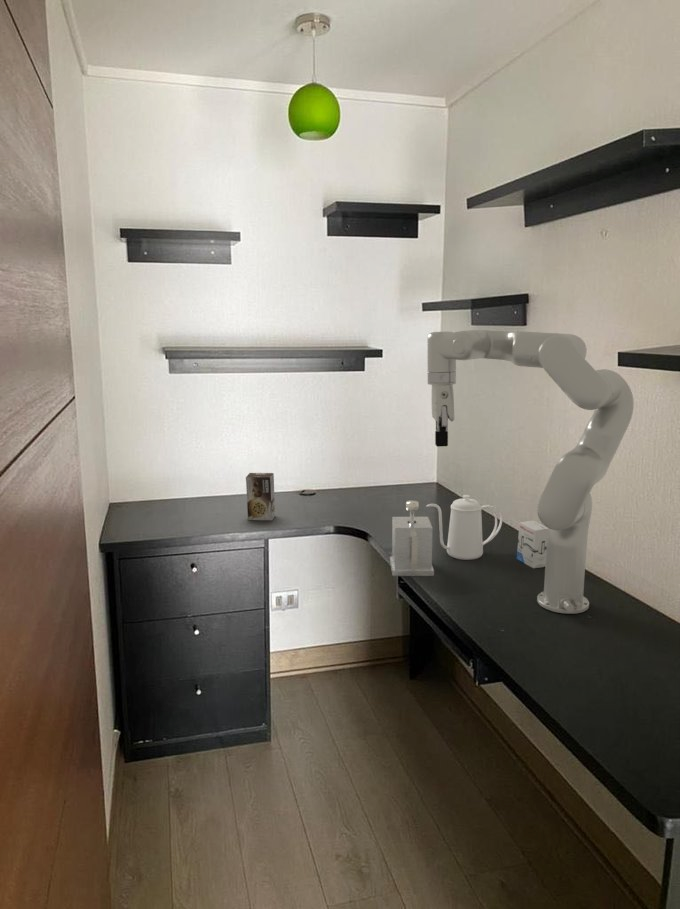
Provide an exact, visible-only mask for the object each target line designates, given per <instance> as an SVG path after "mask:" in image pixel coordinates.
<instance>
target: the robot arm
mask: <svg viewBox="0 0 680 909" xmlns="http://www.w3.org/2000/svg"><path fill="white" fill-rule="evenodd" d="M586 356H587V345H586V342H585V341H584V340H583V339H582V337H580V336H578V335H575V334H571V333H557V332H556V333H555V332H540V331H523V330H522V331H519V330H517V331H507V330H506V331H504V330H489V329H488V330H487V329H485V330H484V329H472V330H461V331H459V330H458V331H455V332H453V331H433V332H430V333H429V334H428V335H427V385H429V386H431V416H432V418H433V419H434V421H435V432H434V433H435V434H434V436H435V439H434V443H435V446H436V447H448V446H449V431H448V425H449V421H450V422H454V421H455V400H454V398H455V397H454V386H453V385H456V384H457V361H470V360H476V359H486V360H489V359H490V360H498V361H499V360H500V361H508V362H511V363H512V364H513V365H514V366H517V367H526V368H538V369H543V370H544V371H545V372H546V374H547V375H548V376H549V377H550V378H551V379H552V380H553V381H554V383H555V384H556V385H557V386H558V388H560V389H561V391H562V392H563V393H564V394H565V395H566V396H567V397H568V398H569V400H570V401H571V402H572V403H573V404H575V405H576V406H577V407H578V408H581V409H583V410H586V411H593V414H592V416H591V417H590V418H589V421H588V422H587V424H586V426H585V428H584V431H583V432H582V435H581V437H580V438H579V440H578V442H577V444H576V445H575V447H574V448H573V449H571V450H570V451H568V452H565V454H563V455H562V456H561V457H560V458H559V459H558V461H557V463H556V464H555V466H554V468H553V470H552V472H551V473H550V476H549V479H548V480H547V483H546V484H545V487H544V488H543V491H542V493H541V495H540V498H539V499H538V502H537V507H536V508H537V509H536V511H537V516H538V520H539V521H540V523H542V525H543V526H545V527H547V528H548V534H547V548H546V565H545V568H544V582H543V583H544V584H543V586H544V587H543V591H541V592H540V593H538V595H537V596H536V598H537V599H536V602H537V603H538V605H539V606H540V607H542V608H543V609H546V610H547V611H550V612H554V613H560V614H567V615H571V614H573V615H574V614H580V613H584V612H585V611H588V609H589V608H590V601H589V600H588V598H587V597H585V596H584V588H585V576H586V575H585V574H586V573H585V572H586V560H587V548H588V536H589V528H590V522H591V517H592V511H593V499H592V495H591V491H592V489H593V487H594V486H595V485H596V484H598V483H599V482H600V481H601V480H602V479H603V478H604V477H605V476H606V474H607V472H608V469H609V468H610V465H611V462H612V461H613V459H614V457H615V455H616V453H617V451H618V449H619V447H620V444H621V442H622V440H623V438H624V436H625V434H626V431H627V430H628V427H629V426H630V423H631V420H632V417H633V413H634V407H635V406H634V405H635V404H634V397H633V392H632V389H631V388H630V386H629V383H628V382H627V381H626V380H625V379H624V378H623V376H622V375H621V374H620V373H617V371H614V370H611V369H606V368H605V369H604V368H602V369H597V370H596V369H595V368H594V367H593V366H592V365H591V364H590V363H589V362H588V360H586V358H587V357H586Z"/></svg>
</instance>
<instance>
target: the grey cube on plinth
mask: <svg viewBox="0 0 680 909" xmlns="http://www.w3.org/2000/svg"><path fill="white" fill-rule="evenodd" d="M391 521H392V525H391V529H392V531H391V534H392V535H391V537H392V538H391V539H392V540H391V556H389V564H390V569H391V574H392V575H391V576H392V577H434V576H435V569H434V566H433V562H432V561H433V531H434V530H433V528H434V527H433V526H432V523H431V521H430V518H429V516H414V523H410V516H392V520H391Z"/></svg>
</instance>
